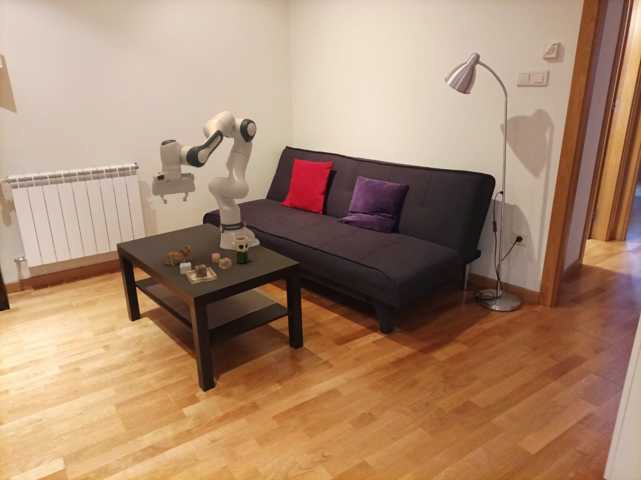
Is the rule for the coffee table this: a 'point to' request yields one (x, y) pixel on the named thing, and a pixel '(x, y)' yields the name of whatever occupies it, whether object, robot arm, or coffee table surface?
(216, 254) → the pinkish tan rounded lump
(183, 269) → the white plastic block
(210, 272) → the birch tray
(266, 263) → the coffee table surface
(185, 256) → the lion figurine
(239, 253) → the character mug
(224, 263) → the oak block
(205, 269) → the walnut block
